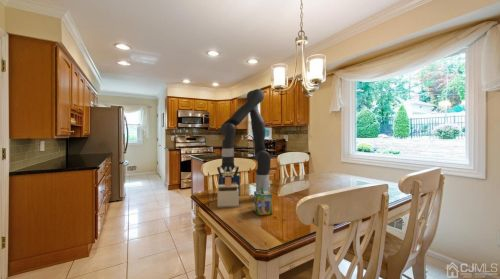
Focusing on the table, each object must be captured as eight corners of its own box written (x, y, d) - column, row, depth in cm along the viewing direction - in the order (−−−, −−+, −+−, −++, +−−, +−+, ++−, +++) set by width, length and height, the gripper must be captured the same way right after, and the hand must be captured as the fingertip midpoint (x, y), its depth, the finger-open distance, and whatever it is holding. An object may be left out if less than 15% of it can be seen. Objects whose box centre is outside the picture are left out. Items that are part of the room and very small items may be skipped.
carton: (237, 199, 148) (237, 184, 148) (238, 206, 134) (238, 191, 133) (218, 199, 147) (218, 185, 147) (217, 207, 132) (217, 191, 132)
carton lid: (237, 185, 147) (237, 176, 148) (238, 186, 133) (238, 176, 134) (218, 185, 146) (218, 176, 147) (217, 187, 132) (217, 177, 132)
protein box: (218, 192, 164) (218, 172, 164) (239, 192, 166) (239, 172, 165) (218, 197, 154) (218, 175, 153) (239, 196, 155) (239, 175, 155)
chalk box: (272, 214, 121) (272, 188, 121) (256, 215, 120) (256, 189, 119) (268, 208, 130) (268, 184, 130) (253, 209, 129) (253, 185, 128)
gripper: (239, 154, 138) (239, 181, 139) (216, 155, 137) (216, 182, 137) (239, 156, 131) (239, 184, 131) (216, 156, 129) (216, 184, 130)
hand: (228, 182), depth 134 cm, fingers closed on carton lid, 4 cm apart
